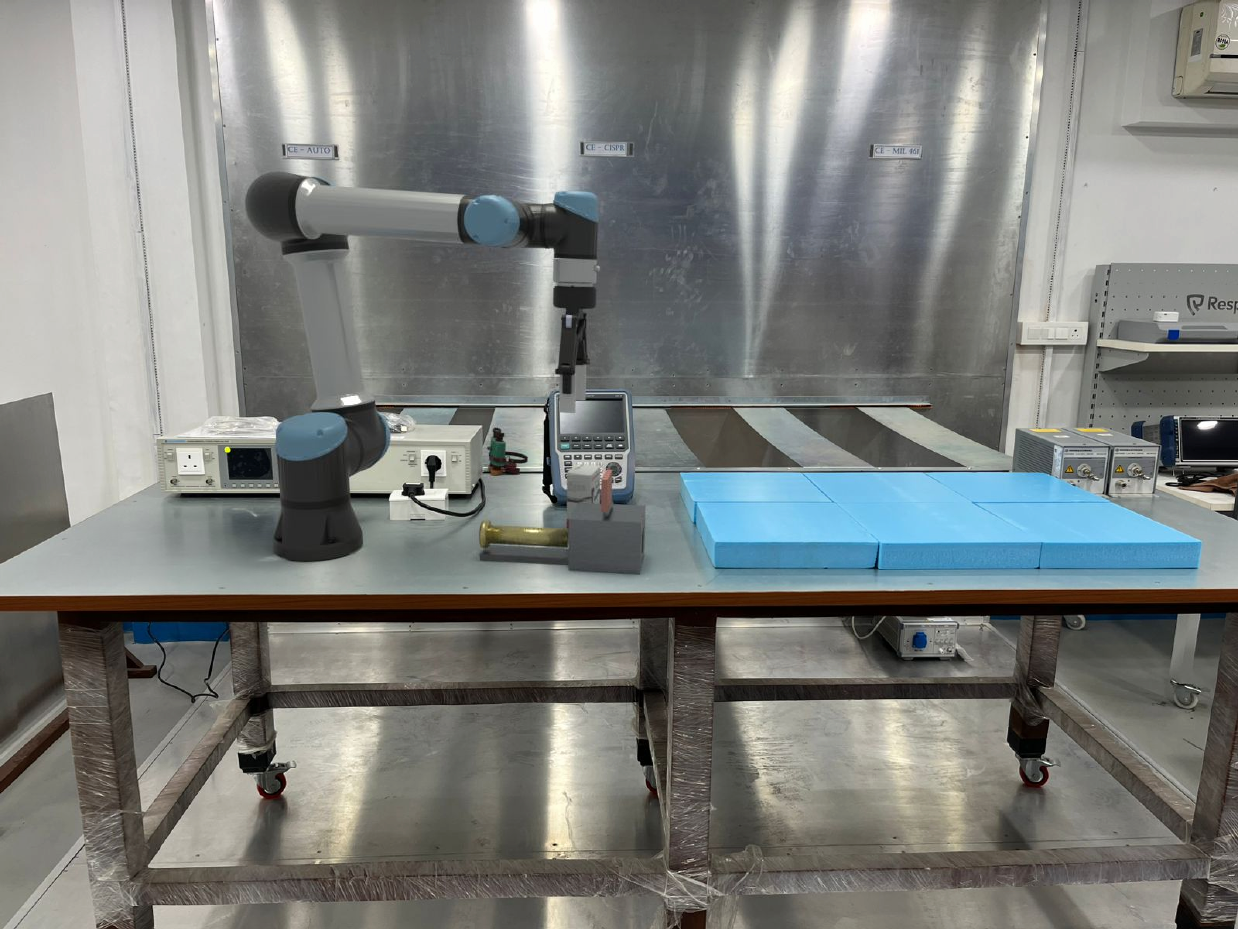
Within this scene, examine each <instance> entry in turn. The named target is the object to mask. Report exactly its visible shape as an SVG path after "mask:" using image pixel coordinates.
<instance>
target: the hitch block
mask: <svg viewBox="0 0 1238 929" xmlns="http://www.w3.org/2000/svg"><path fill="white" fill-rule="evenodd" d="M603 513H604V512H601V503H600V504H597V503H577V505H576V507H575V509H574V511H573V512H572V514H571V516H570V518H569V544H568V548H565V547H545V546H525V545H505V544H490V546H489V547H488V548H482V550H481V551H480V553H479V554H478V556H479V558H478V559H479V561H480V562H482V561H483V562H499V563H500V562H501V563H517V564H518V563H521V564H537V565H538V564H540V565H558V566H568V571H572V572H573V571H574V572H591V573H592V572H593V573H609V574H629V575H631V574H633V575H640V574H641V571H642V567H643V561H644V557H645V550H646V549H645V543H646V541H645V540H646V505H637V504H616V503H613V506H612V509H611V511H610V514H609V516H608V517H607V518H605V517H604V516H603Z"/></svg>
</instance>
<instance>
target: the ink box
mask: <svg viewBox="0 0 1238 929" xmlns="http://www.w3.org/2000/svg"><path fill="white" fill-rule="evenodd" d="M577 503H597V504H601V465H592V464H584V463H583V464H582V463H577V464H575V465H573V467H572V468H570V469H569V470H568V471H567V473H566V529H569V518H570V516H571V514H572V512H573V511H574V509H575V507H576V505H577Z"/></svg>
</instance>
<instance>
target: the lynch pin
mask: <svg viewBox="0 0 1238 929" xmlns="http://www.w3.org/2000/svg"><path fill="white" fill-rule="evenodd" d="M478 531H479V532H478V543H479V547H480V548H481V549H484V548H488V547H489V546H490V545H507V546H527V547H547V548H569V529H567V528H560V527H559V528H558V527H557V528H556V527H537V526H536V527H535V526H532V527H531V526H517V525H516V526H514V525H495V524H494V525H493V524H492V522H491V520H487V519H485V520H484V519H483V520H481V522H480V526H479V530H478Z"/></svg>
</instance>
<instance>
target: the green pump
mask: <svg viewBox="0 0 1238 929" xmlns="http://www.w3.org/2000/svg"><path fill="white" fill-rule="evenodd" d="M492 433H493V436H491V438H490V446H487V448H486V450H487V451H489V452H488V461H489V464H488V465H487V470H488V471H490V475H493V476H496V475H501V474H502V473H510V474H516V475H517V474H518V475H519V474H520V473H521V468H519V467H517V465H518V464H521V465H522V464H526V463H528V458H529V457H528V456H527V455H525V454H523V453H520V452H515V451H508V450H507V451H506V446H507V443H506V441H504V440H503V439H504V437H505V432H502V429H501V428H499V427H493V428H492ZM511 457H517V458H519V459H516V458H511ZM507 458H508V459H507Z"/></svg>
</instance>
